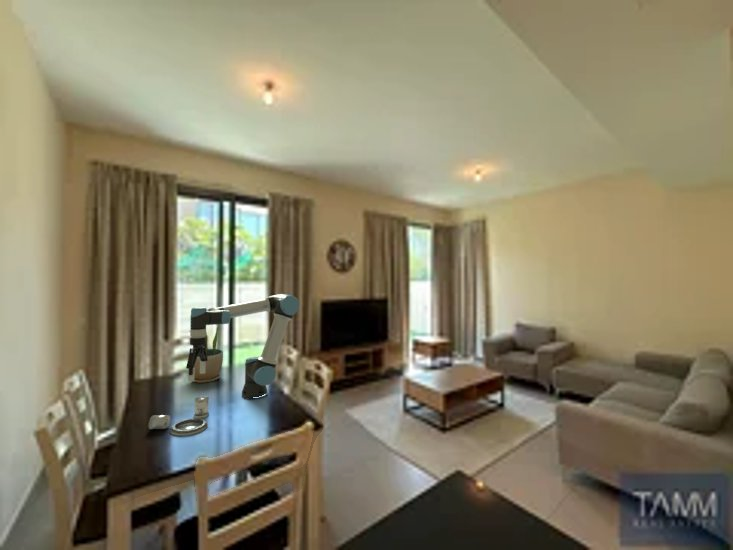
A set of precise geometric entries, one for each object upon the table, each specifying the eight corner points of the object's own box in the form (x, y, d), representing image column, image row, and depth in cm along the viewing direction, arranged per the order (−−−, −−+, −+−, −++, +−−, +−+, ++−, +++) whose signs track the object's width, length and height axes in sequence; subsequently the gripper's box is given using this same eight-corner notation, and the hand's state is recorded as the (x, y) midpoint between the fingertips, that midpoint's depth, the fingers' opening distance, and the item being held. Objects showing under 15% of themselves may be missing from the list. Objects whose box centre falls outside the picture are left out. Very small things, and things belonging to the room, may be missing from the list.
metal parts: (212, 421, 174) (212, 408, 174) (199, 436, 158) (200, 422, 158) (160, 421, 172) (160, 409, 172) (142, 436, 156) (142, 423, 156)
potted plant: (187, 386, 226) (188, 325, 226) (189, 377, 245) (191, 320, 245) (222, 383, 234) (223, 323, 234) (221, 374, 254) (223, 319, 254)
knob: (210, 412, 185) (211, 396, 185) (205, 418, 177) (206, 400, 177) (196, 413, 184) (197, 396, 184) (191, 418, 177) (191, 401, 177)
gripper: (200, 332, 195) (200, 370, 195) (179, 341, 170) (178, 384, 170) (214, 332, 195) (213, 370, 195) (194, 341, 170) (193, 384, 170)
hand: (197, 377), depth 182 cm, fingers open, 13 cm apart
